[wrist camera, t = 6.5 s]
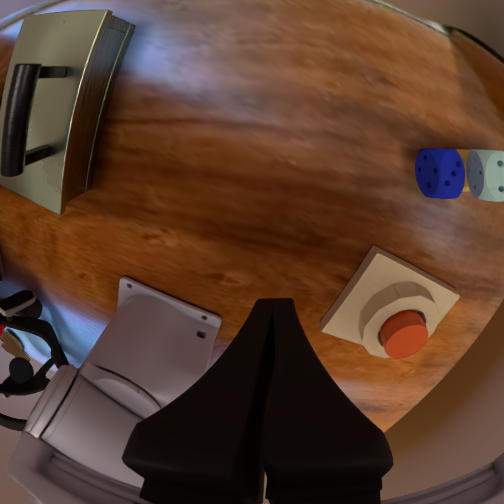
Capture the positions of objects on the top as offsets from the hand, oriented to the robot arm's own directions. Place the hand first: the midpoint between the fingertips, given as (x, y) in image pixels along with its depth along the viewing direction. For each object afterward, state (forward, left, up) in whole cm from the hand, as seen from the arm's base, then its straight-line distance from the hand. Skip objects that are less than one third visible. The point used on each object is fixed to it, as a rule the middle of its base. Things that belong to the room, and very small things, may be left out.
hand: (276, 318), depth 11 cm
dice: (-8, -10, -3) cm, 13 cm away
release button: (-12, +3, -7) cm, 14 cm away
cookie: (+34, +44, -9) cm, 56 cm away
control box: (-12, +3, -9) cm, 15 cm away
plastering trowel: (+18, -3, -5) cm, 19 cm away
